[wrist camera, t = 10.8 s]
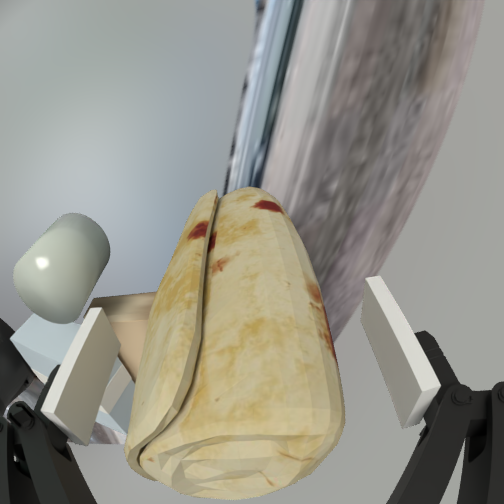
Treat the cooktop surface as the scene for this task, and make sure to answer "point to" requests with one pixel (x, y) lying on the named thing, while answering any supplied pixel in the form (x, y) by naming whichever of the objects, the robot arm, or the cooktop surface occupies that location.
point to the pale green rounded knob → (62, 268)
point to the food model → (236, 358)
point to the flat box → (53, 353)
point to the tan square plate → (128, 325)
